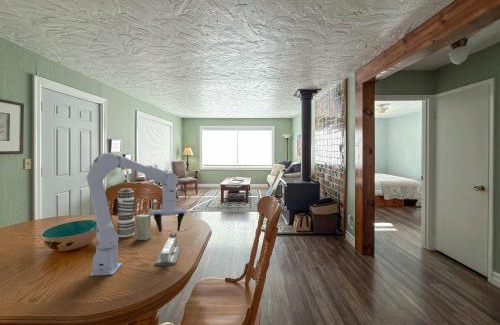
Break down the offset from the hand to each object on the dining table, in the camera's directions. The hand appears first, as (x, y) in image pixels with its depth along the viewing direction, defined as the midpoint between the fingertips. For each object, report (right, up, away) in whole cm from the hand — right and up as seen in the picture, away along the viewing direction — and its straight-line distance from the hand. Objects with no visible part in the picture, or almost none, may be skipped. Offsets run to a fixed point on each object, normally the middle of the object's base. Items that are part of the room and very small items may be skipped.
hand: (169, 230), depth 116 cm
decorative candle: (-32, -10, +28) cm, 43 cm away
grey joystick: (-1, -10, +10) cm, 14 cm away
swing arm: (0, -9, -2) cm, 9 cm away
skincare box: (-20, -10, +21) cm, 31 cm away
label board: (0, -11, -2) cm, 11 cm away
